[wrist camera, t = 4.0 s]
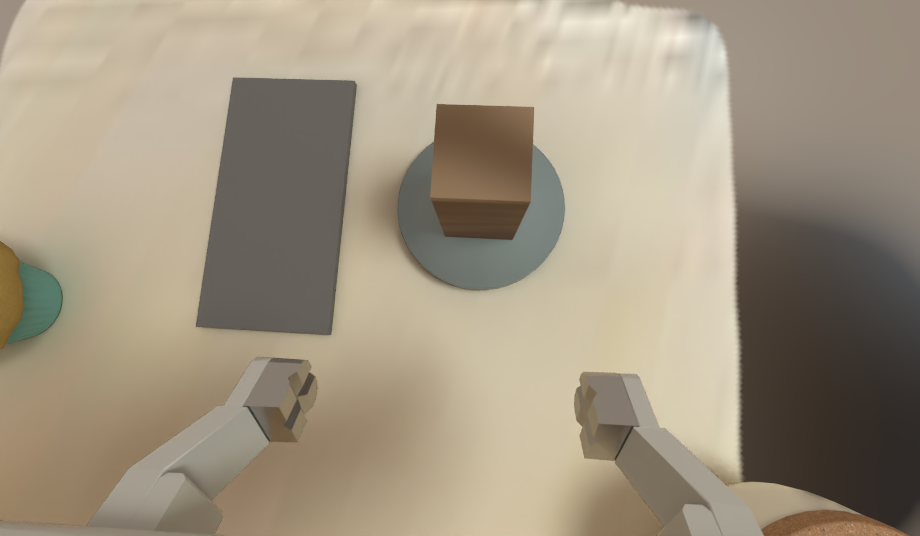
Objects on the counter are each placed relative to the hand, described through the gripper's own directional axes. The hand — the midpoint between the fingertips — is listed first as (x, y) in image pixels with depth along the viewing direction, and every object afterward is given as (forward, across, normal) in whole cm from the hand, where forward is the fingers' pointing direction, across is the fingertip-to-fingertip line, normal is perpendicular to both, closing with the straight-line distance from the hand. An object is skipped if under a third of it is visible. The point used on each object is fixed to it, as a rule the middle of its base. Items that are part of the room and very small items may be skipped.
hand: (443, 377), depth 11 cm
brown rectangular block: (+15, -1, +2) cm, 15 cm away
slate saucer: (+16, -1, +3) cm, 16 cm away
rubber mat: (+16, +13, +3) cm, 21 cm away
